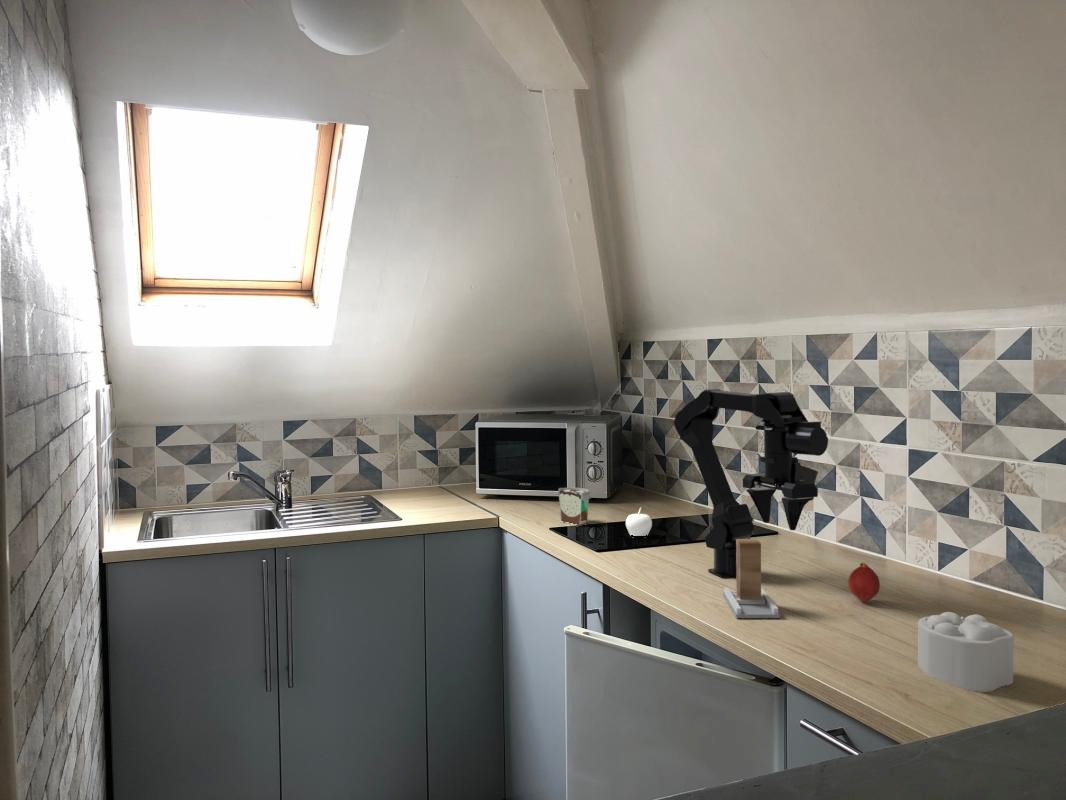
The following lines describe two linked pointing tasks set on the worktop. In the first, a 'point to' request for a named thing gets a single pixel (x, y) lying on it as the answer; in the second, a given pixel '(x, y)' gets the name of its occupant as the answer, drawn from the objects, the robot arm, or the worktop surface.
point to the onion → (864, 583)
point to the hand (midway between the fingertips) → (779, 526)
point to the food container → (574, 505)
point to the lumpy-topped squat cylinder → (965, 651)
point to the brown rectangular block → (748, 572)
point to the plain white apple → (638, 524)
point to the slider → (751, 607)
